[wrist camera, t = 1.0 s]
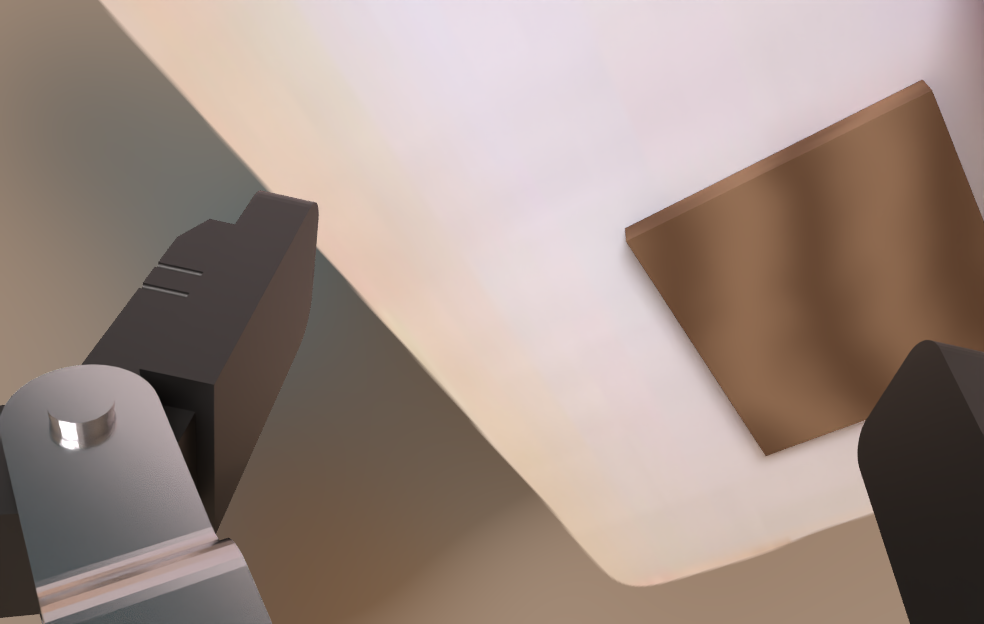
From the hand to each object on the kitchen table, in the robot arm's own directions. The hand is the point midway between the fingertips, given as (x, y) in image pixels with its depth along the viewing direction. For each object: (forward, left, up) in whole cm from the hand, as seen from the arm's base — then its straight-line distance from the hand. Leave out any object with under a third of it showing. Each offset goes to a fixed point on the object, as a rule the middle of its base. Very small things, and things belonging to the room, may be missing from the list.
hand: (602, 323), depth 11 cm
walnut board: (-1, +21, -27) cm, 34 cm away
